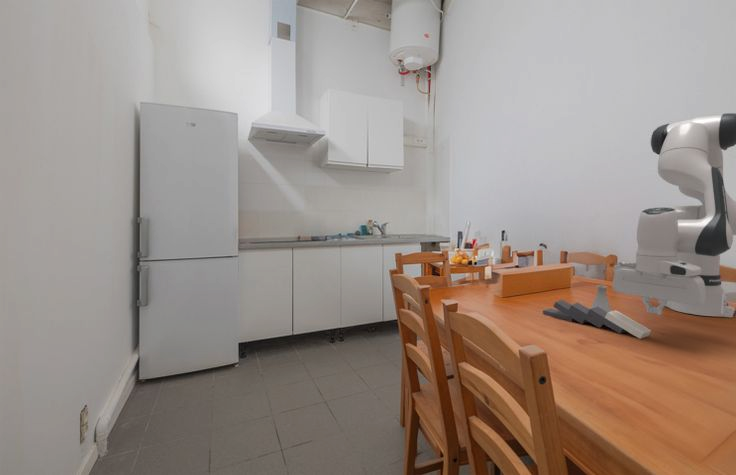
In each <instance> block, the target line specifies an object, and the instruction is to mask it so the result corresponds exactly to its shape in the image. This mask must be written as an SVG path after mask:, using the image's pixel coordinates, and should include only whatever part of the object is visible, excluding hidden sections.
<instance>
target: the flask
mask: <svg viewBox="0 0 736 475" xmlns="http://www.w3.org/2000/svg"><path fill="white" fill-rule="evenodd" d="M596 289H597V291H596V294H595V295H596V296H595V297H594V299H593V302H592V304H591V306H590V307H589V309H591V308H595V307H599V308H601V309H603V310H605V311H606V312H611V311H613V310H612V308H611V305H610V303H609V300H608V297H607V289H608V287H607V286H606V285H596Z"/></svg>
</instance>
